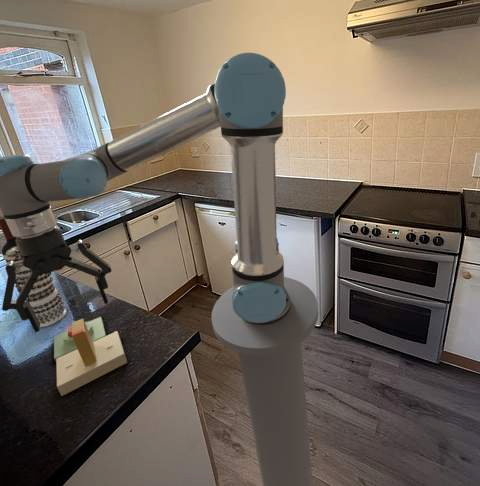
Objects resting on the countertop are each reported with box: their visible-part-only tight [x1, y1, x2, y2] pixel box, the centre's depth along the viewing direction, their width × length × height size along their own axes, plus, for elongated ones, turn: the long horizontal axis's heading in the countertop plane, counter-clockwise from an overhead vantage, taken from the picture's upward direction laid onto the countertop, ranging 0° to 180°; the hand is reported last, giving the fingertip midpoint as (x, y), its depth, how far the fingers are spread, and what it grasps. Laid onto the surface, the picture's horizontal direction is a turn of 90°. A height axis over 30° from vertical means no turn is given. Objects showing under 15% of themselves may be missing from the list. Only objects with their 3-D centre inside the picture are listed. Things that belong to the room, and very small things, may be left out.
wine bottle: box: [0, 216, 19, 286], centre depth 101 cm, size 8×8×30 cm
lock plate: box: [55, 330, 128, 397], centre depth 74 cm, size 14×10×3 cm
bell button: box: [66, 324, 72, 337], centre depth 83 cm, size 4×4×2 cm
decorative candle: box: [2, 246, 67, 328], centre depth 90 cm, size 9×9×25 cm
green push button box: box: [53, 316, 107, 362], centre depth 83 cm, size 12×10×3 cm
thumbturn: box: [70, 318, 97, 366], centre depth 72 cm, size 6×2×9 cm, turn 35°
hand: (73, 314), depth 69 cm, fingers open, 13 cm apart
